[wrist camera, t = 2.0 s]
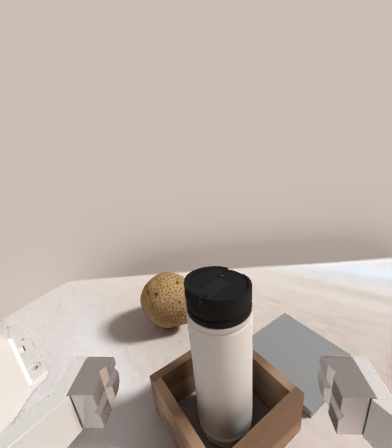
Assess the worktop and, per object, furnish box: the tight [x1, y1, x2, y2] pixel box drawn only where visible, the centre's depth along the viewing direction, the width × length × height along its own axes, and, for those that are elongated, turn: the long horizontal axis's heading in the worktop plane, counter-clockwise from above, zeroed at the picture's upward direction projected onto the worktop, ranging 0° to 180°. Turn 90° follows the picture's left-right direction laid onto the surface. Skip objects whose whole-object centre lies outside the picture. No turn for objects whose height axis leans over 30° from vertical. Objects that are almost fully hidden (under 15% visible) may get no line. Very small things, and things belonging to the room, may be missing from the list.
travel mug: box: [184, 266, 253, 448], centre depth 27 cm, size 6×7×20 cm
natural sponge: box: [140, 272, 188, 328], centre depth 44 cm, size 9×9×10 cm
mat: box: [253, 313, 350, 417], centre depth 37 cm, size 12×11×1 cm
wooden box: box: [150, 349, 304, 448], centre depth 29 cm, size 12×12×6 cm
